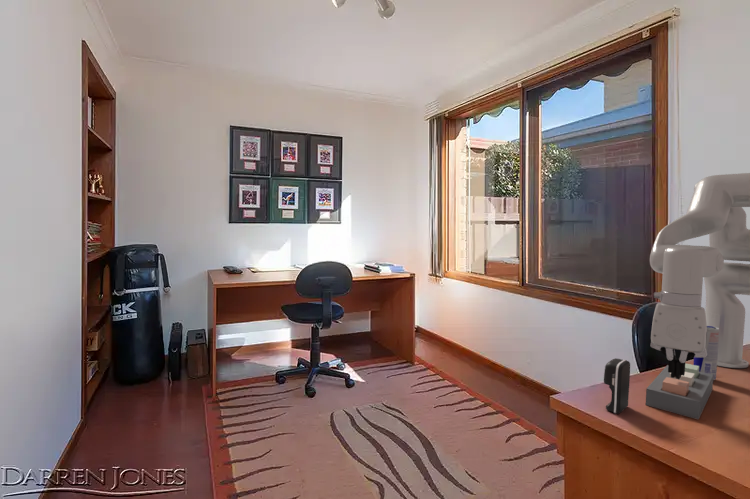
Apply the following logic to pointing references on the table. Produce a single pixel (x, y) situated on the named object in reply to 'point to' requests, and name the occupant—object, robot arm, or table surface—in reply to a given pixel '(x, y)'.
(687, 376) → the cream button
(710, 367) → the beverage can
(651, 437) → the table surface
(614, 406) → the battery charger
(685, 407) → the frame
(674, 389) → the terracotta button
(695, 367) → the sage button
